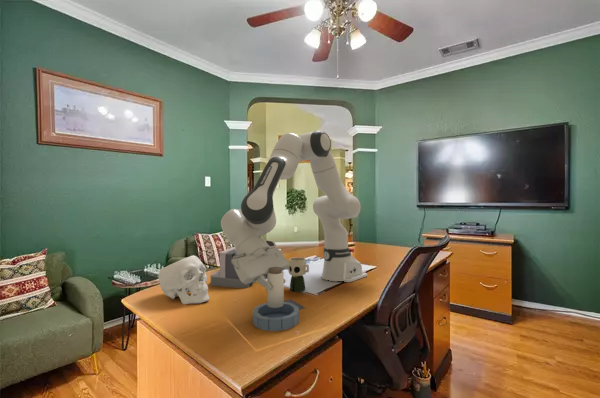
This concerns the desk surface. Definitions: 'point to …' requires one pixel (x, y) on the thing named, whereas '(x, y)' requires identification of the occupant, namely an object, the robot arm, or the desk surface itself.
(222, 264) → the instant camera
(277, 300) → the salt mill
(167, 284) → the skull planter
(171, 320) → the desk surface
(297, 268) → the character mug
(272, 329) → the bowl
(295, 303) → the mat
